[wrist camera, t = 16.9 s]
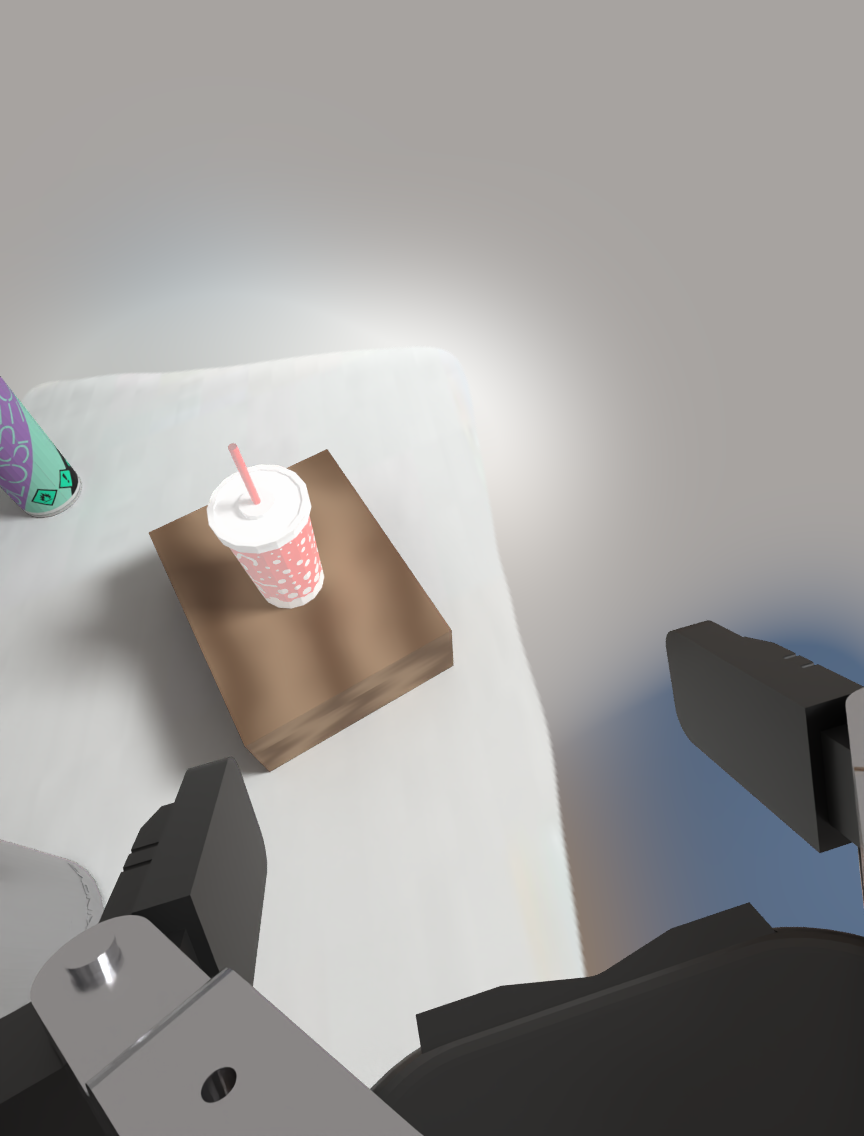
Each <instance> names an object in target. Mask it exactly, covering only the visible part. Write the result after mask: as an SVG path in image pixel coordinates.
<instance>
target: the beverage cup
mask: <svg viewBox="0 0 864 1136" xmlns="http://www.w3.org/2000/svg"><path fill="white" fill-rule="evenodd" d="M228 449H229V451H230V453H231V456H232V458H233V460H234V462H235V464H236V467H237V469H238V471H237V472H236V473H234V474H232V475H230V476H229V477H227V478H225V479H224V480H223V481H222V482H221V483H220V485H219V486H218V487H217V488H216V489H215V490H214V492H213V493H212V495H211V498H210V501H209V504H208V506H207V515H208V522H209V526H210V528H211V529H212V530H213V531H214V533H215V534H216V536H217V537H218V538H219V540H220V541H221V542H222V543H223V545H225V546H227V547H229V548H230V549H231V551H232V552H233V553H234V555H235V556H236V558H237V559H238V561H239V562H240V563H241V565H242V566H243V568H244V569H245V571H246V572H247V574H248V575H249V576H250V578H251V579H252V581H253V582H254V584H255V585H256V587H257V588H258V589H259V591H260V592H261V594H262V595H263V596H264V598H265V599H266V600H267V601H268V603H270V604H272V605H275V606H277V607H279V608H295V607H298V606H302V605H305V604H306V603H308V602H309V601H311V600H312V599H313V598H315V597H316V595H317V594H318V592H319V591H320V589H321V588H322V585H323V580H324V574H323V570H322V565H321V561H320V557H319V553H318V549H317V545H316V541H315V536H314V532H313V528H312V524H311V520H310V516H309V514H310V510H311V503H310V499H309V495H308V491H307V487H306V484H305V483H304V482H303V480H302V479H301V478H300V477H299V476H298V475H297V474H296V473H295V472H293V471H291V470H289V469H286V468H284V467H282V466H279V465H262V464H260V465H256V466H252V467H248V468H246V465H245V463H244V461H243V458H242V456H241V454H240V452H239V449H238V447H237V445H236V444H234V443H232V444H230V445H229V446H228Z"/></svg>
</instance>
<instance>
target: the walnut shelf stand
mask: <svg viewBox="0 0 864 1136" xmlns="http://www.w3.org/2000/svg"><path fill="white" fill-rule="evenodd" d="M286 469H289V470H291V471H293V472H295V473H296V474H297V475H298V476H299V477H300V478H301V479H302V480H303V482H304V483H305V484H306V487H307V491H308V495H309V499H310V503H311V510H310V514H309V516H310V520H311V524H312V528H313V532H314V536H315V541H316V545H317V549H318V553H319V557H320V561H321V565H322V570H323V574H324V580H323V585H322V588H321V589H320V591H319V592H318V594H317V595H316V597H315V598H313V599H312V600H311V601H309V602H308V603H306V604H305V605H302V606H298V607H295V608H279V607H277V606H275V605H272V604H270V603H268V601H267V600H266V599H265V598H264V596H263V595H262V594H261V592H260V591H259V589H258V588H257V587H256V585H255V584H254V582H253V581H252V579H251V578H250V576H249V575H248V574H247V572H246V571H245V569H244V568H243V566H242V565H241V563H240V562H239V561H238V559H237V558H236V556H235V555H234V553H233V552H232V551H231V549H230V548H229V547H227V546H225V545H223V543H222V542H221V541H220V540H219V538H218V537H217V536H216V534H215V533H214V531H213V530H212V529H211V528H210V526H209V522H208V515H207V506H208V505H207V506H205V507H202V508H200V509H198V510H196V511H194V512H192V513H190V514H188V515H185V516H183V517H181V518H179V519H177V520H175V521H173V522H170V523H168V524H166V525H164V526H162V527H160V528H158V529H155V530H153V531H151V532H149V535H150V537H151V539H152V541H153V544H154V546H155V548H156V550H157V553H158V555H159V557H160V559H161V561H162V564H163V566H164V568H165V570H166V573H167V575H168V577H169V579H170V581H171V584H172V586H173V588H174V590H175V593H176V595H177V597H178V599H179V601H180V604H181V606H182V608H183V610H184V613H185V615H186V617H187V619H188V621H189V624H190V626H191V628H192V630H193V633H194V635H195V637H196V639H197V641H198V644H199V646H200V648H201V650H202V653H203V655H204V657H205V659H206V661H207V664H208V666H209V668H210V670H211V673H212V675H213V677H214V679H215V681H216V684H217V686H218V688H219V690H220V693H221V695H222V697H223V699H224V701H225V704H226V706H227V708H228V710H229V713H230V715H231V717H232V719H233V721H234V724H235V726H236V728H237V730H238V733H239V735H240V737H241V739H242V741H243V744H244V746H245V747H246V748H247V749H248V750H249V751H250V752H251V753H252V754H253V756H254V757H255V758H256V759H257V760H258V761H259V762H260V763H261V764H262V765H263V766H264V767H265V768H266V769H267V770H268V771H269V772H271V771H272V770H274V769H276V768H277V767H279V766H281V765H283V764H284V763H286V762H288V761H290V760H291V759H293V758H295V757H296V756H298V755H300V754H302V753H303V752H305V751H307V750H309V749H310V748H312V747H314V746H315V745H317V744H319V743H321V742H322V741H324V740H326V739H328V738H329V737H331V736H333V735H334V734H336V733H338V732H340V731H341V730H343V729H345V728H346V727H348V726H350V725H352V724H353V723H355V722H357V721H359V720H360V719H362V718H364V717H365V716H367V715H369V714H371V713H372V712H374V711H376V710H378V709H379V708H381V707H383V706H384V705H386V704H388V703H390V702H391V701H393V700H395V699H397V698H398V697H400V696H402V695H403V694H405V693H407V692H409V691H410V690H412V689H414V688H416V687H417V686H419V685H421V684H422V683H424V682H426V681H428V680H429V679H431V678H433V677H435V676H436V675H438V674H440V673H441V672H443V671H445V670H447V669H448V668H450V667H452V666H453V648H452V630H451V629H450V627H449V626H448V624H447V623H446V621H445V620H444V618H443V617H442V616H441V614H440V613H439V611H438V610H437V608H436V607H435V605H434V604H433V602H432V601H431V600H430V598H429V597H428V595H427V594H426V592H425V591H424V589H423V588H422V586H421V585H420V584H419V582H418V581H417V579H416V578H415V576H414V575H413V573H412V572H411V570H410V569H409V568H408V566H407V565H406V563H405V562H404V560H403V559H402V557H401V556H400V554H399V553H398V552H397V550H396V549H395V547H394V546H393V544H392V543H391V541H390V540H389V538H388V537H387V535H386V534H385V533H384V531H383V530H382V528H381V527H380V525H379V524H378V522H377V521H376V519H375V518H374V517H373V515H372V514H371V512H370V511H369V509H368V508H367V506H366V505H365V503H364V502H363V501H362V499H361V498H360V496H359V495H358V493H357V492H356V490H355V489H354V487H353V486H352V485H351V483H350V482H349V480H348V479H347V477H346V476H345V474H344V473H343V471H342V470H341V469H340V467H339V466H338V464H337V463H336V461H335V460H334V458H333V457H332V455H331V454H330V452H329V451H328V450H327V449H326V450H324V451H322V452H320V453H318V454H316V455H314V456H311V457H309V458H307V459H305V460H303V461H301V462H299V463H296V464H294V465H292V466H290V467H288V468H286Z"/></svg>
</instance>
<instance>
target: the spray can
mask: <svg viewBox="0 0 864 1136" xmlns="http://www.w3.org/2000/svg"><path fill="white" fill-rule="evenodd" d="M0 487H1V488H2V489H3V490H4V491H5V492H6V493H7V494H8V495H9V496H10V497H11V498H12V499H13V500H14V501H15V502H16V503H17V504H18V505H19V506H20V508H22V509H23V510H24V511H25V512H26V513H27V514H29V515H31V516H34V517H49V516H53V515H56V514H59V513H61V512H63V511H64V510H66V509H67V508H69V507H70V506H71V505H72V504H73V503H74V502H75V501H76V500H77V498H78V497H79V495H80V492H81V488H82V483H81V480H80V478H79V477H78V475H77V473H76V472H75V471H74V470H73V468H72V467H71V466H70V464H69V463H68V462H67V461H66V459H65V458H64V457H63V456H62V454H61V453H60V452H59V450H58V449H57V448H56V447H55V445H54V444H53V443H52V441H51V440H50V439H49V438H48V436H47V435H46V434H45V433H44V431H43V430H42V429H41V427H40V426H39V425H38V424H37V422H36V421H35V420H34V419H33V417H32V416H31V415H30V413H29V412H28V411H27V410H26V408H25V407H24V406H23V404H22V403H21V402H20V401H19V399H18V398H17V397H16V396H15V394H14V393H13V392H12V390H11V389H10V388H9V387H8V385H7V384H6V383H5V382H4V380H3V379H2V378H1V376H0Z"/></svg>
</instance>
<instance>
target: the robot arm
mask: <svg viewBox="0 0 864 1136" xmlns="http://www.w3.org/2000/svg"><path fill="white" fill-rule="evenodd" d="M666 649H667V656H668V662H669V669H670V675H671V682H672V688H673V694H674V701H675V707H676V713H677V716H678V719H679V722H680V724H681V727H682V729H683V731H684V732H685V734H686V735H687V737H688V738H689V740H690V741H691V742H692V743H693V744H694V745H695V746H697V747H698V748H699V749H700V750H701V751H702V752H704V753H705V754H706V755H707V756H708V757H709V758H710V759H712V760H713V761H714V762H715V763H716V764H717V765H719V766H720V767H721V768H722V769H723V770H724V771H725V772H727V773H728V774H729V775H730V776H731V777H732V778H734V779H735V780H736V781H737V782H738V783H739V784H741V785H742V786H743V787H744V788H745V789H746V790H748V791H749V792H750V793H751V794H752V795H753V796H754V797H756V798H757V799H758V800H759V801H760V802H761V803H762V804H764V805H765V806H766V807H767V808H768V809H769V810H771V811H772V812H773V813H774V814H775V815H776V816H778V817H779V818H780V819H781V820H782V821H783V822H785V823H786V824H787V825H788V826H789V827H790V828H791V829H792V830H794V831H795V832H796V833H797V834H798V835H800V836H801V837H802V838H803V839H804V840H805V841H807V843H809V844H810V845H811V846H812V847H813V848H815V849H816V850H817V851H818V852H819V853H821V852H824V851H828V850H831V849H834V848H837V847H840V846H843V845H846V844H849V843H852V842H853V843H854V844H855V845H856V846H858V855H859V866H860V876H861V885H862V894H863V904H864V687H863V686H861V685H859V684H857V683H855V682H853V681H851V680H849V679H847V678H845V677H843V676H840V675H839V674H837V673H835V672H833V671H831V670H829V669H826V668H824V667H822V666H820V665H818V664H817V665H814V663H813V662H812V661H810V660H808V659H806V658H804V657H802V656H800V655H799V656H796V654H795V653H794V652H792V651H790V650H788V649H785V648H783V647H781V646H779V645H777V644H775V643H772V642H767V641H763V640H758V639H753V638H748V637H742V636H740V635H738V634H736V633H734V632H732V631H730V630H728V629H726V628H724V627H722V626H720V625H718V624H716V623H714V622H712V621H704V622H700V623H697V624H693V625H690V626H686V627H683V628H679V629H676V630H673V631H670V632H668V634H667V637H666ZM131 851H132V853H131V854H129V856H128V858H127V860H126V862H125V865H124V867H123V870H124V872H121V874H120V876H119V878H118V880H117V882H116V885H115V887H114V889H113V891H112V894H111V896H110V898H109V900H108V903H107V905H106V907H105V909H103V903H102V897H101V893H100V891H99V889H98V886H97V884H96V882H95V880H94V879H93V877H92V876H91V875H90V874H89V872H88V871H87V870H86V869H84V868H83V867H82V866H80V865H79V864H77V863H76V862H73V861H70V860H68V859H65V858H62V857H58V856H55V855H51V854H48V853H44V852H41V851H38V850H35V849H32V848H28V847H25V846H21V845H18V844H14V843H11V842H7V841H4V840H0V1136H864V937H862V936H859V935H855V934H851V933H846V932H840V931H834V930H828V929H819V928H807V927H779V928H778V927H777V928H772V927H771V926H770V925H769V924H768V923H767V922H766V921H765V919H764V918H763V917H762V916H761V915H760V914H759V913H758V911H756V909H755V908H754V907H753V906H752V905H751V904H750V903H746V904H743V905H740V906H737V907H734V908H731V909H728V910H725V911H722V912H719V913H716V914H713V915H710V916H707V917H704V918H702V919H698V920H695V921H692V922H690V923H687V924H683V925H681V926H678V927H675V928H672V929H670V930H668V931H666V932H665V933H663V934H662V935H660V936H659V937H657V938H656V939H654V940H653V941H651V942H649V943H648V944H646V945H645V946H643V947H642V948H640V949H638V950H637V951H635V952H634V953H632V954H631V955H629V956H628V957H626V958H624V959H623V960H621V961H620V962H618V963H617V964H615V965H613V966H612V967H610V968H609V969H607V970H606V971H604V972H602V973H600V974H598V975H595V976H591V977H585V978H575V979H565V980H555V981H545V982H535V983H525V984H515V985H505V986H499V987H496V988H493V989H491V990H488V991H485V992H482V993H479V994H476V995H473V996H470V997H467V998H464V999H461V1000H458V1001H455V1002H452V1003H449V1004H446V1005H443V1006H440V1007H437V1008H434V1009H431V1010H428V1011H425V1012H422V1013H419V1014H416V1019H417V1026H418V1032H419V1038H420V1045H421V1047H420V1048H418V1049H417V1050H415V1051H414V1052H412V1053H411V1054H409V1055H408V1056H406V1057H405V1058H404V1059H403V1060H401V1061H400V1062H399V1063H398V1064H396V1065H395V1066H394V1067H393V1068H391V1069H390V1070H389V1071H388V1072H387V1073H386V1074H385V1075H384V1076H383V1077H382V1078H381V1079H380V1080H379V1081H378V1082H377V1083H376V1084H375V1085H374V1086H373V1087H372V1088H371V1089H369V1088H368V1087H367V1086H365V1085H364V1084H363V1083H362V1082H361V1081H360V1080H359V1079H357V1078H356V1077H355V1076H354V1075H353V1074H352V1073H351V1072H349V1071H348V1070H347V1069H346V1068H345V1067H344V1066H343V1065H341V1064H340V1063H339V1062H338V1061H337V1060H336V1059H335V1058H333V1057H332V1056H331V1055H330V1054H329V1053H328V1052H327V1051H325V1050H324V1049H323V1048H322V1047H321V1046H320V1045H319V1044H317V1043H316V1042H315V1041H314V1040H313V1039H312V1038H311V1037H309V1036H308V1035H307V1034H306V1033H305V1032H304V1031H303V1030H301V1029H300V1028H299V1027H298V1026H297V1025H296V1024H295V1023H293V1022H292V1021H291V1020H290V1019H289V1018H288V1017H287V1016H285V1015H284V1014H283V1013H282V1012H281V1011H280V1010H279V1009H278V1008H276V1007H275V1006H274V1005H273V1004H272V1003H271V1002H270V1001H268V1000H267V999H266V998H265V997H264V996H263V995H262V994H260V993H259V992H258V991H257V990H256V989H255V988H254V987H253V981H254V973H255V964H256V956H257V948H258V940H259V932H260V924H261V916H262V908H263V900H264V892H265V883H266V875H267V858H266V851H265V845H264V841H263V837H262V833H261V830H260V827H259V824H258V821H257V819H256V816H255V813H254V810H253V807H252V804H251V801H250V798H249V795H248V792H247V789H246V786H245V783H244V780H243V777H242V774H241V772H240V769H239V766H238V764H237V762H236V761H235V759H234V758H233V757H228V758H225V759H221V760H218V761H214V762H211V763H207V764H204V765H200V766H197V767H194V768H190V769H188V770H187V772H186V774H185V776H184V779H183V781H182V784H181V787H180V789H179V792H178V794H177V797H176V799H175V802H174V803H171V804H168V805H165V806H161V807H160V808H159V810H158V811H157V812H156V813H155V814H154V815H153V816H152V817H151V818H150V819H149V820H148V821H147V822H146V823H145V824H144V825H143V826H142V828H141V829H140V831H139V833H138V836H137V838H136V840H135V842H134V844H133V847H132V849H131Z"/></svg>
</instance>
